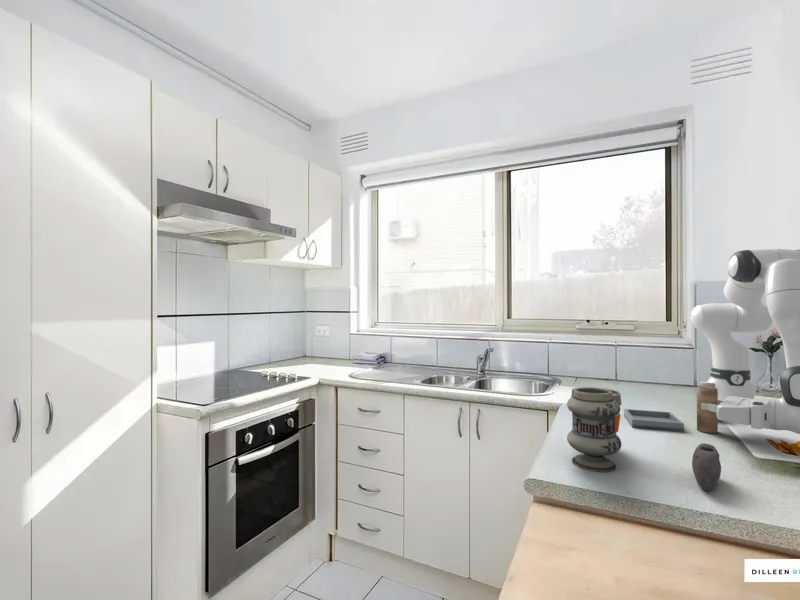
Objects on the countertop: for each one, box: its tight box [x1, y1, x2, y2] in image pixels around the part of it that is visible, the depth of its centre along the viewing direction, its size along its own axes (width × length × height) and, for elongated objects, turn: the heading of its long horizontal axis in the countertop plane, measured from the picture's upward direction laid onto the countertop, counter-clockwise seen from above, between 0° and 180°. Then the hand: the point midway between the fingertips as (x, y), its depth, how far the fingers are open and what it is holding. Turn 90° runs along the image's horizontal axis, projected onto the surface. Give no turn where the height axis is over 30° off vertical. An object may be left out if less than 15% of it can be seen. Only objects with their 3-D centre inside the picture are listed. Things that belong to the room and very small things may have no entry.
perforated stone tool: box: [691, 442, 722, 491], centre depth 93 cm, size 15×5×7 cm, turn 142°
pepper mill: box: [696, 381, 719, 434], centre depth 130 cm, size 5×5×14 cm
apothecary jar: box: [566, 386, 622, 473], centre depth 103 cm, size 12×12×18 cm
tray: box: [623, 408, 685, 433], centre depth 138 cm, size 14×14×2 cm
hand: (703, 403), depth 131 cm, fingers closed on pepper mill, 5 cm apart
